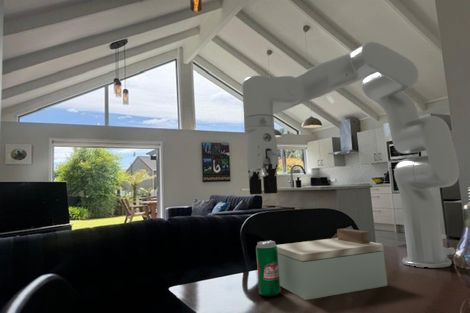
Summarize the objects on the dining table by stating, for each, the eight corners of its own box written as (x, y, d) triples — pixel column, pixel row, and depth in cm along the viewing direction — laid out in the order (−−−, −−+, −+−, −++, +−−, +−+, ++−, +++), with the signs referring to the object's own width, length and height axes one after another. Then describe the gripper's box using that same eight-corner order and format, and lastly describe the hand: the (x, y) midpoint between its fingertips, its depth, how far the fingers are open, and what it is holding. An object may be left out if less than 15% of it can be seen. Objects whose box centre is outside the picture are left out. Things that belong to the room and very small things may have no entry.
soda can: (266, 298, 75) (262, 244, 76) (255, 293, 79) (251, 242, 81) (284, 294, 77) (280, 241, 79) (272, 289, 82) (269, 239, 83)
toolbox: (346, 272, 94) (343, 243, 95) (387, 285, 79) (383, 251, 80) (275, 282, 87) (272, 251, 88) (305, 300, 72) (302, 262, 73)
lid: (343, 242, 95) (341, 227, 95) (383, 250, 80) (381, 232, 80) (272, 251, 88) (271, 234, 89) (302, 261, 73) (300, 241, 74)
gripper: (287, 117, 76) (292, 192, 74) (260, 132, 93) (263, 194, 91) (257, 116, 74) (261, 193, 72) (235, 132, 91) (237, 195, 89)
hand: (262, 193), depth 81 cm, fingers open, 9 cm apart
